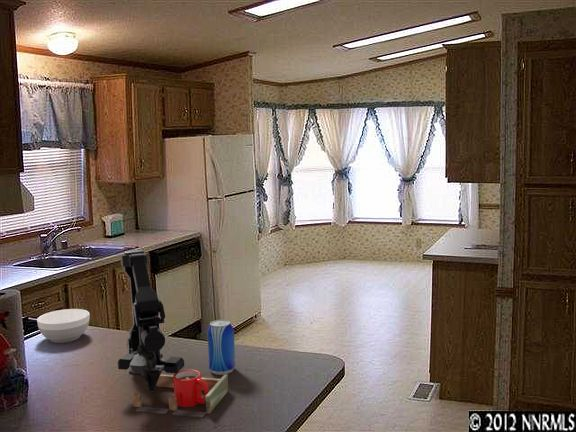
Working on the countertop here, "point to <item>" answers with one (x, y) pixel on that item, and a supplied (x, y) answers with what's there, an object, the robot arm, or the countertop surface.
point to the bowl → (63, 324)
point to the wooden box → (212, 398)
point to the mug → (189, 388)
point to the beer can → (221, 347)
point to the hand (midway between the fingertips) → (152, 390)
